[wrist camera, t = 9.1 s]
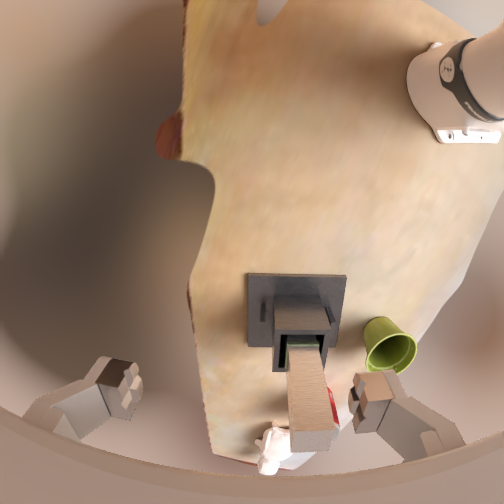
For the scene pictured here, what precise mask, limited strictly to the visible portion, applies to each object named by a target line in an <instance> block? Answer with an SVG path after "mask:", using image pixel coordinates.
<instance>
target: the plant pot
mask: <svg viewBox="0 0 504 504" xmlns="http://www.w3.org/2000/svg"><path fill="white" fill-rule="evenodd" d="M363 337H364V342H365V346H366V351H367V358H366V368H367V371H368V372H373V371H382V370H391V369H393V370H394V371H395V372H396V374H399V373H401V372H403V371H404V370H405V369H406V368H407V367H408V366H409V365H410V364H411V363H412V361H413V360H414V358H415V356H416V352H417V343H416V341H415V339H414V338H413V337H412V336H411V335H409V334H407V333H404V332H402V331H401V330H400V329H399V328H398V327H397V326H396V325H395V324H394V323H393V322H392V321H391V320H390V319H389V318H387V317H377V318H374V319H372V320H371V321H370V322H369V323H368V324H367V325H366V326H365V329H364V333H363Z"/></svg>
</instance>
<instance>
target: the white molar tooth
mask: <svg viewBox="0 0 504 504" xmlns="http://www.w3.org/2000/svg"><path fill="white" fill-rule="evenodd" d="M254 443H255V444H256V445H257V446H258V447H259V448H260V455H261V457H260V460H259V461H258V465H257V467H258V471H259V473H261V474H263V475H274V474H275V473H276V472H277V470H278V467H279V465H280V464H279V461H284V460H285V459H287V458H289V457H290V455H292V454H293V453H294V452H293V453H290V431H289V429H287V430H286V429H283V428H279V427H277V424H276V422H272V428H269V429H267V430H265V432H264V434H263V439H262V440H259V439H256V440H255V442H254Z"/></svg>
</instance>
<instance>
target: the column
mask: <svg viewBox="0 0 504 504" xmlns="http://www.w3.org/2000/svg"><path fill="white" fill-rule="evenodd" d="M284 346H285V369H286V377H287V393H288V411H289V431H290V453H293V452H318V451H328V450H329V447H330V444H331V442H332V439H333V436H334V433H335V430H336V429H335V424H334V419H333V414H332V409H331V404H330V399H329V394H328V389H327V384H326V380H325V375H324V370H323V366H322V361H321V357H320V352H319V342H318V341H317V339H316V335H288V334H285V345H284Z"/></svg>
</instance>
